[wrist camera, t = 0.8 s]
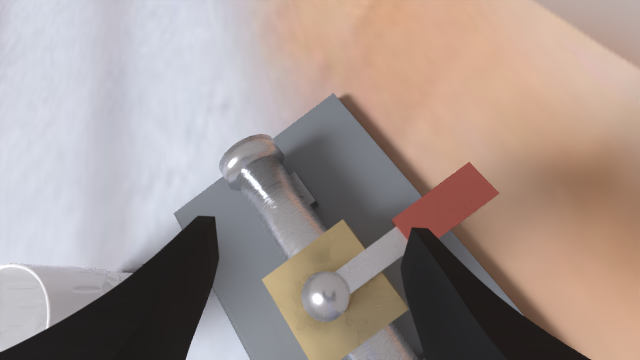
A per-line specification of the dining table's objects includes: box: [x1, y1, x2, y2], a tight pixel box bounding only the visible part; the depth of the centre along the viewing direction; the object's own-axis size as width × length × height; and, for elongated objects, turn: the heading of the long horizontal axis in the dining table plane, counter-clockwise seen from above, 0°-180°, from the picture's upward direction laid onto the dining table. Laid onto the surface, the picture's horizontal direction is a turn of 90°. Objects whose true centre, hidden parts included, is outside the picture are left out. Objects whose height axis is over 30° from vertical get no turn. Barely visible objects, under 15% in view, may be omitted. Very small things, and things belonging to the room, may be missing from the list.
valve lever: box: [301, 162, 499, 322], centre depth 18 cm, size 12×3×2 cm, turn 125°
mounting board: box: [174, 93, 524, 360], centre depth 26 cm, size 28×18×1 cm, turn 35°
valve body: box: [219, 134, 425, 360], centre depth 22 cm, size 25×6×6 cm, turn 35°
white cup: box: [0, 263, 133, 352], centre depth 25 cm, size 8×8×10 cm
